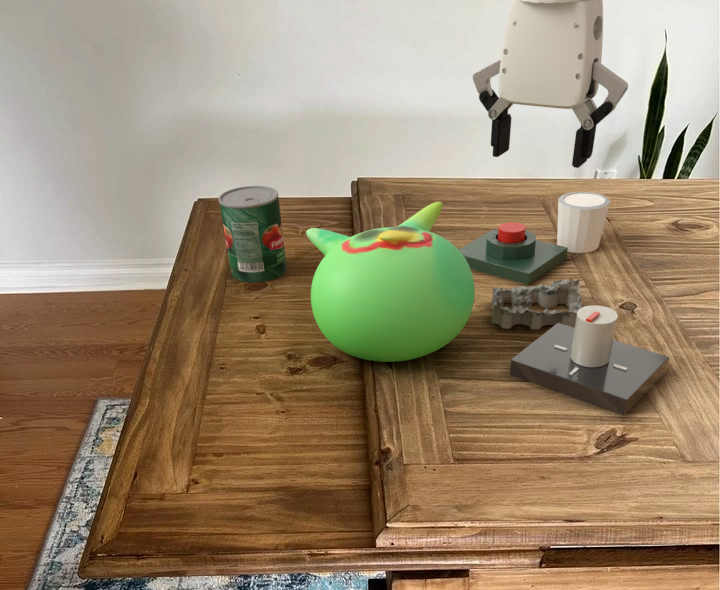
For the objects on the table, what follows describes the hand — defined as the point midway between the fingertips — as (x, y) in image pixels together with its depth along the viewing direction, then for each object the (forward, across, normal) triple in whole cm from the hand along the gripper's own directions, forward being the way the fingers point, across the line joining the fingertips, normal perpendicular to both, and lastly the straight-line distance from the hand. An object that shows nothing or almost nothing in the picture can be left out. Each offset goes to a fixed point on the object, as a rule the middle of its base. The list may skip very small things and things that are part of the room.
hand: (539, 158), depth 85 cm
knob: (+14, -14, +17) cm, 26 cm away
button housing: (+16, +5, -6) cm, 18 cm away
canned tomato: (+16, +35, +12) cm, 40 cm away
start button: (+13, +5, -6) cm, 15 cm away
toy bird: (+16, +8, +21) cm, 28 cm away
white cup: (+16, -1, -15) cm, 23 cm away
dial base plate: (+16, -14, +17) cm, 27 cm away
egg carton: (+16, -4, +7) cm, 19 cm away
